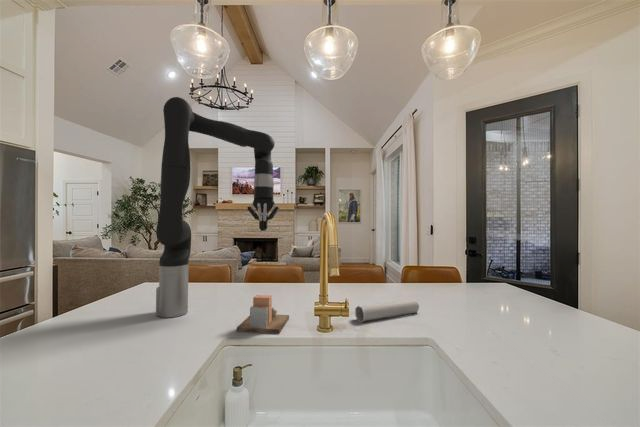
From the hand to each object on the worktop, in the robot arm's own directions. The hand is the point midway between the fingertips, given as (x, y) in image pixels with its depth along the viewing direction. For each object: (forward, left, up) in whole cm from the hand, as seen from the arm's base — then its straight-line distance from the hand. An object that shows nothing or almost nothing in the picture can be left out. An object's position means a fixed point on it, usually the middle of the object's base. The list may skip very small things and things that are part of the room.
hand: (263, 230), depth 115 cm
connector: (+7, -26, -28) cm, 38 cm away
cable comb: (+7, -15, -28) cm, 32 cm away
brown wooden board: (+7, -20, -29) cm, 36 cm away
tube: (+48, -7, -30) cm, 56 cm away
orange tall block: (+7, -23, -27) cm, 36 cm away
